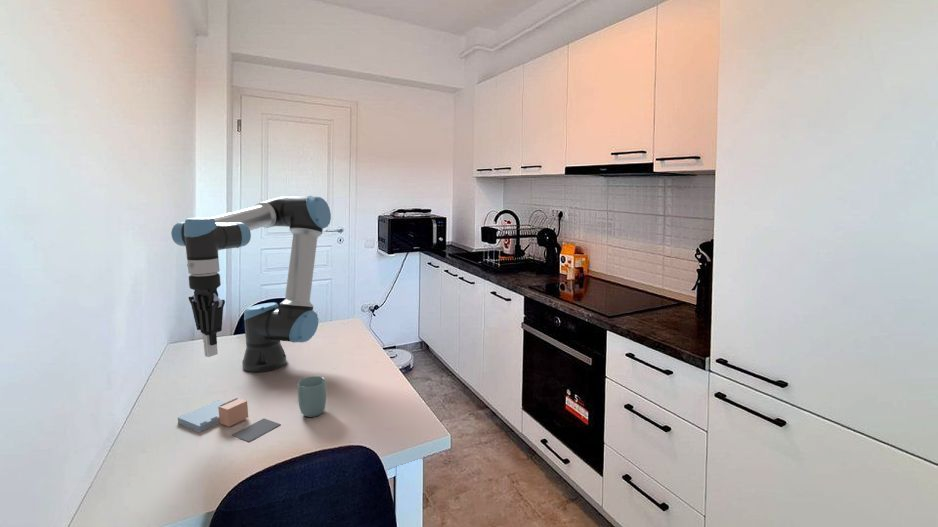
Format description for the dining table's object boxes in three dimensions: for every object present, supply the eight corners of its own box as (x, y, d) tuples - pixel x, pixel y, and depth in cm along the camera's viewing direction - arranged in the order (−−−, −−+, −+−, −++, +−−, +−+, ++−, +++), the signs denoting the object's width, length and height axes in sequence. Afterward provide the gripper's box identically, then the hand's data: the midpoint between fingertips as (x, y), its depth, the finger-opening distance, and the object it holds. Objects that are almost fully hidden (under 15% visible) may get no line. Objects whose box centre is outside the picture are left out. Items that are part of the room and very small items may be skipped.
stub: (219, 423, 125) (218, 405, 124) (239, 413, 130) (237, 397, 130) (228, 426, 123) (227, 408, 122) (248, 417, 129) (247, 400, 128)
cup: (303, 407, 135) (301, 376, 134) (329, 406, 136) (328, 375, 134) (295, 420, 128) (293, 387, 126) (323, 419, 128) (322, 386, 127)
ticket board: (178, 423, 126) (177, 416, 125) (218, 405, 136) (218, 399, 136) (200, 432, 121) (199, 425, 121) (240, 413, 132) (239, 406, 131)
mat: (231, 435, 120) (231, 434, 120) (263, 419, 129) (263, 418, 129) (249, 442, 117) (248, 441, 117) (280, 424, 125) (280, 424, 125)
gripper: (176, 273, 124) (184, 355, 127) (205, 278, 118) (213, 363, 121) (202, 269, 130) (209, 347, 134) (232, 273, 124) (238, 354, 128)
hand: (211, 355), depth 128 cm, fingers closed
